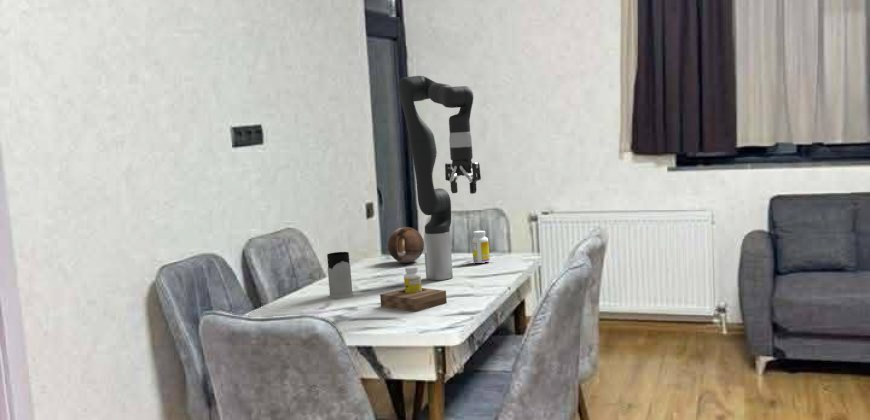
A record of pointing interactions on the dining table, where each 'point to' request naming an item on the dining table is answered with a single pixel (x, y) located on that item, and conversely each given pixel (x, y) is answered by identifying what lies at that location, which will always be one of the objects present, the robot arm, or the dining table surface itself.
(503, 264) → the dining table surface
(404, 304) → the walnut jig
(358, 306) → the dining table surface
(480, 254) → the supplement bottle
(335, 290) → the glass holder
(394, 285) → the dining table surface
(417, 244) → the wooden sphere
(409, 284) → the supplement bottle
